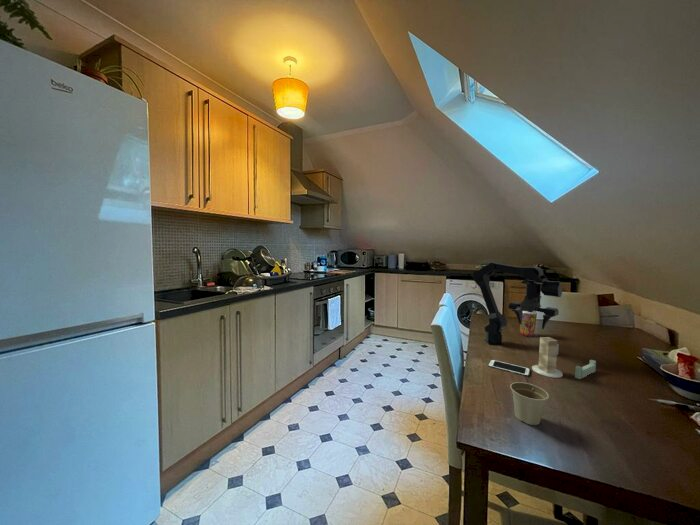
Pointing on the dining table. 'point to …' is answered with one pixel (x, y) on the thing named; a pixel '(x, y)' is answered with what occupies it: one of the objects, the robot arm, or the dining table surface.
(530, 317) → the smoothie
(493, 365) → the cell phone
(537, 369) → the coaster
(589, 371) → the fence
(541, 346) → the beech block
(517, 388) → the flower pot
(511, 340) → the dining table surface
